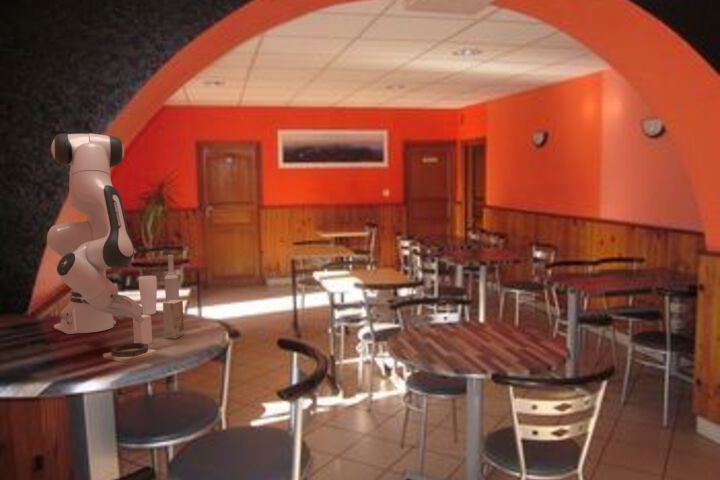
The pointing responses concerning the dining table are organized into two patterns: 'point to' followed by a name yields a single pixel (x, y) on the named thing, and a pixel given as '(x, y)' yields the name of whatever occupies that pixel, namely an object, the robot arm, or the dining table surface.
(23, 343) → the dining table surface
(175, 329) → the skincare box
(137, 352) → the board
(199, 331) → the dining table surface
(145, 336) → the carton
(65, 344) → the dining table surface
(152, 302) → the drinking glass
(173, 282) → the bottle
